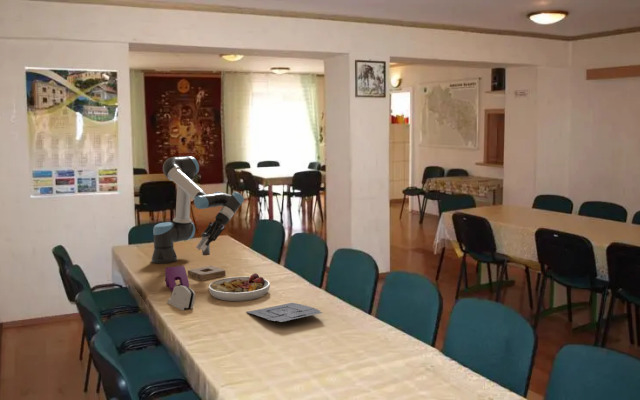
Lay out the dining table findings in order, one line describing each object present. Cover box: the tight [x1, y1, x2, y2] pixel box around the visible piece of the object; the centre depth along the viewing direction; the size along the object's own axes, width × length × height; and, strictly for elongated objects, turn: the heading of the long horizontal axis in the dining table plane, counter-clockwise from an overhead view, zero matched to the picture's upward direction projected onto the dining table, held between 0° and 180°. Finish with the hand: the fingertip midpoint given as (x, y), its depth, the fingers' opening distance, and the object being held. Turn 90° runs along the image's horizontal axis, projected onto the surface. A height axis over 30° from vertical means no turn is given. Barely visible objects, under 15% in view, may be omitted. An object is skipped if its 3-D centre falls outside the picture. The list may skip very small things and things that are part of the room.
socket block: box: [187, 265, 226, 281], centre depth 324 cm, size 15×15×3 cm
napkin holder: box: [166, 285, 196, 311], centre depth 271 cm, size 17×5×10 cm, turn 40°
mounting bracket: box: [164, 265, 190, 292], centre depth 300 cm, size 10×9×19 cm
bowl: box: [208, 273, 271, 302], centre depth 289 cm, size 30×30×8 cm
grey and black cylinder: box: [201, 232, 211, 256], centre depth 322 cm, size 4×4×12 cm
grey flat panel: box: [247, 302, 323, 323], centre depth 254 cm, size 24×30×4 cm
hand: (199, 249), depth 320 cm, fingers closed on grey and black cylinder, 4 cm apart
